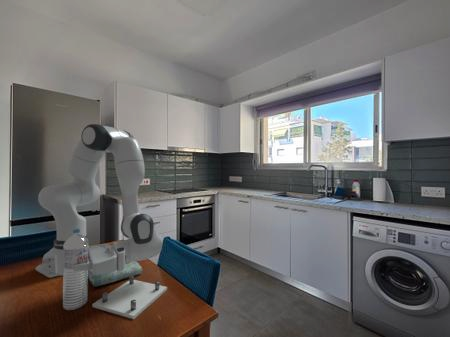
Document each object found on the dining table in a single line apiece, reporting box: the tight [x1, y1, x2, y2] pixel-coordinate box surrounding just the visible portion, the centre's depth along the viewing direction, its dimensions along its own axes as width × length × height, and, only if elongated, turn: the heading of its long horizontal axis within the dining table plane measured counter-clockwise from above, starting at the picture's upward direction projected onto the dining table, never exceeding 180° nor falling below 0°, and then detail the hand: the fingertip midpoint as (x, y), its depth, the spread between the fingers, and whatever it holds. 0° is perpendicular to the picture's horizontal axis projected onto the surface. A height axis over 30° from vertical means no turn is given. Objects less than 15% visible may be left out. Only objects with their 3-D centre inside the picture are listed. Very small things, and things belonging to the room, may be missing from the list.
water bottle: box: [62, 229, 89, 311], centre depth 71 cm, size 7×7×25 cm
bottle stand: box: [92, 276, 168, 320], centre depth 75 cm, size 17×17×4 cm
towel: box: [88, 261, 143, 287], centre depth 93 cm, size 18×21×5 cm
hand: (72, 263), depth 71 cm, fingers open, 8 cm apart
